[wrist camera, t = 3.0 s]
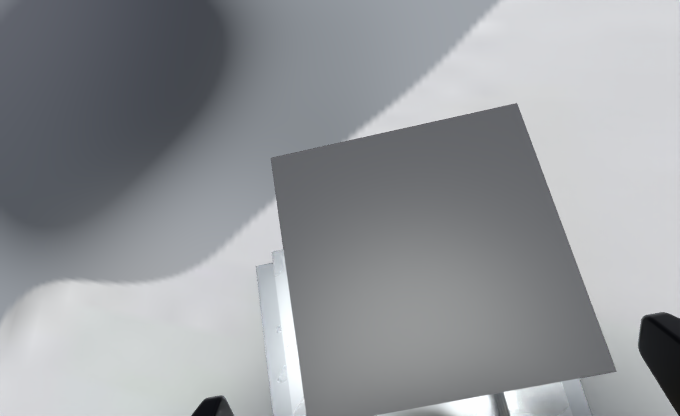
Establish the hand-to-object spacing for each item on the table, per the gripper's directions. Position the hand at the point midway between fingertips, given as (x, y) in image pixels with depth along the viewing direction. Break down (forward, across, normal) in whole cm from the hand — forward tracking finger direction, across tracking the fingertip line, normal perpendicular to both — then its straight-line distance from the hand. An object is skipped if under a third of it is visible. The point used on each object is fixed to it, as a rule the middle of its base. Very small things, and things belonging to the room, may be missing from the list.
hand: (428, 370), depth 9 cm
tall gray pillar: (+7, 0, +5) cm, 9 cm away
